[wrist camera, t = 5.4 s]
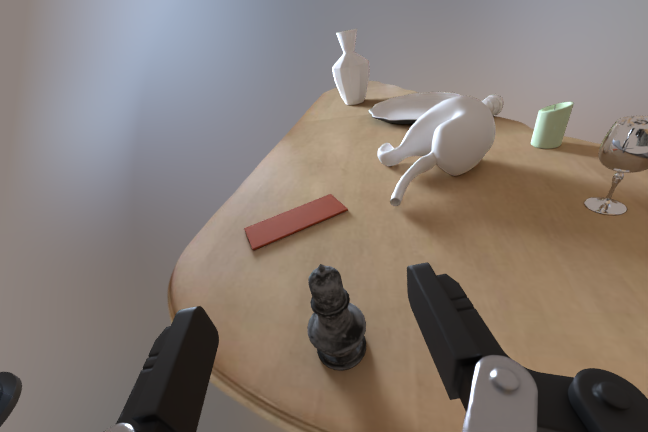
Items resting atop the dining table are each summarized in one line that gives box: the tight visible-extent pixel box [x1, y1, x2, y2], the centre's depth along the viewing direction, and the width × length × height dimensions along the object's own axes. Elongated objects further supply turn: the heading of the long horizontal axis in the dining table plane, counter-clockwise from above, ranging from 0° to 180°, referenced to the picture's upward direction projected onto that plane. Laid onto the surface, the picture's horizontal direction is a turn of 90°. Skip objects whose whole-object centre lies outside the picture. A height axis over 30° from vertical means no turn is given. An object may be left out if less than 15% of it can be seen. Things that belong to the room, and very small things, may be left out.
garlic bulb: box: [482, 94, 503, 116], centre depth 74 cm, size 6×6×5 cm
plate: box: [369, 92, 460, 124], centre depth 90 cm, size 29×29×2 cm
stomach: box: [378, 96, 495, 206], centre depth 53 cm, size 23×13×24 cm
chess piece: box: [308, 264, 366, 370], centre depth 26 cm, size 6×6×12 cm
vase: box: [332, 29, 369, 105], centre depth 109 cm, size 14×14×25 cm
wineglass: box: [584, 116, 648, 215], centre depth 36 cm, size 6×6×12 cm
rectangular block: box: [244, 194, 348, 251], centre depth 51 cm, size 18×7×1 cm, turn 115°
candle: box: [531, 102, 574, 149], centre depth 55 cm, size 5×5×8 cm
